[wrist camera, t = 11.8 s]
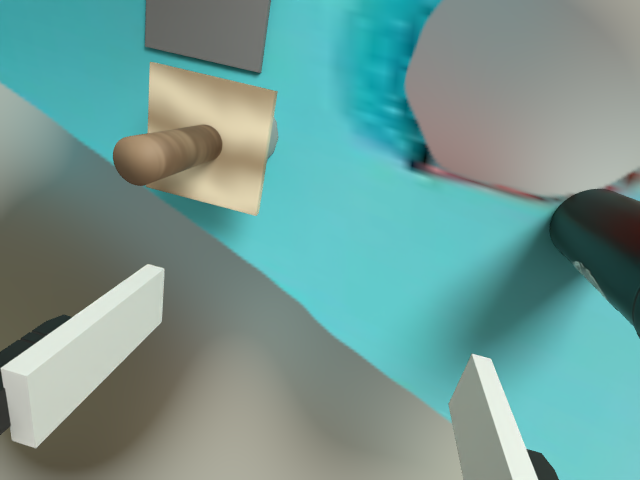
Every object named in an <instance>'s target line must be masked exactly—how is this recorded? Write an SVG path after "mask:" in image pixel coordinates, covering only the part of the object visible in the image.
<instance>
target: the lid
mask: <svg viewBox="0 0 640 480" xmlns="http://www.w3.org/2000/svg"><path fill="white" fill-rule="evenodd" d="M277 92H278V91H273V90H269V89H265V88H261V87H256V86H252V85H248V84H244V83H239V82H235V81H231V80H227V79H222V78H218V77H214V76H210V75H205V74H201V73H197V72H193V71H188V70H184V69H180V68H176V67H172V66H167V65H163V64H159V63H154V62H150V77H149V110H148V133H147V134H141V135H135V136H129V137H125V138H122V139H121V140H119V141H118V142H117V144H116V145H115V148H114V151H113V161H114V165H115V167H116V169H117V171H118V173H119V174H120V175H121V176H122V177H123V178H124V179H125V180H126V181H127V182H129V183H131V184H134V185H138V186H143V185H146V187H149V188H152V189H156V190H160V191H164V192H168V193H171V194H175V195H179V196H183V197H187V198H190V199H194V200H198V201H202V202H206V203H209V204H213V205H217V206H221V207H225V208H229V209H232V210H236V211H240V212H244V213H248V214H251V215H255V216H256V215H257V214H258V213H259V207H260V201H261V195H262V188H263V182H264V175H265V169H266V163H267V156H268V150H269V143H270V137H271V130H272V124H273V118H274V111H275V105H276V98H277Z"/></svg>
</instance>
